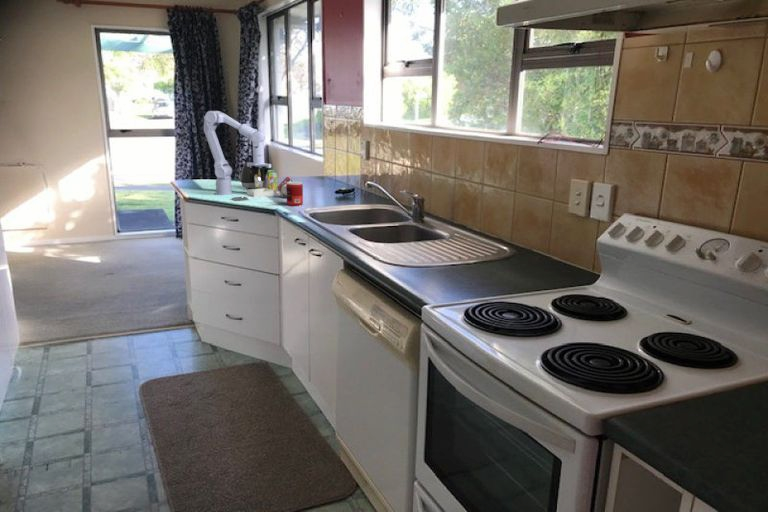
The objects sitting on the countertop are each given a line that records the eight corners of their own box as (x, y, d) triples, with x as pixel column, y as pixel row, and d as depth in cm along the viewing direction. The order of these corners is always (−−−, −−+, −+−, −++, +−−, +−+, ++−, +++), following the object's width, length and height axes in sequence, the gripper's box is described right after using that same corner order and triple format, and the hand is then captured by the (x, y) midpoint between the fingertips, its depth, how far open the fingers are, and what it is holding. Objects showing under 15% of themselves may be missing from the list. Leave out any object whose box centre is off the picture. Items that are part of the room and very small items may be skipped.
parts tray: (246, 195, 311) (246, 189, 311) (266, 193, 317) (265, 188, 317) (254, 198, 303) (254, 192, 302) (274, 196, 308) (273, 190, 308)
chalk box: (269, 192, 322) (268, 165, 318) (255, 191, 325) (254, 165, 321) (278, 190, 330) (277, 164, 326) (264, 189, 333) (263, 163, 329)
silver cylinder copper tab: (258, 185, 310) (257, 173, 309) (264, 186, 309) (263, 173, 307) (253, 186, 307) (252, 174, 305) (259, 187, 305) (258, 174, 303)
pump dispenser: (262, 187, 340) (261, 161, 336) (249, 189, 331) (248, 163, 327) (250, 186, 345) (249, 160, 341) (237, 188, 337) (235, 161, 333)
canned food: (305, 204, 286) (305, 181, 284) (298, 206, 279) (297, 183, 276) (291, 203, 289) (291, 181, 286) (284, 205, 281) (283, 183, 279)
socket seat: (229, 200, 295) (229, 197, 295) (244, 199, 299) (244, 196, 299) (234, 202, 288) (234, 199, 288) (250, 201, 293) (250, 198, 292)
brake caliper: (302, 191, 310) (297, 175, 301) (297, 206, 304) (292, 190, 295) (282, 190, 313) (276, 174, 303) (277, 205, 306) (271, 189, 297)
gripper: (242, 154, 304) (244, 180, 308) (264, 156, 298) (266, 182, 301) (251, 153, 310) (252, 179, 314) (273, 155, 304) (274, 181, 307)
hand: (259, 180), depth 308 cm, fingers closed on silver cylinder copper tab, 4 cm apart
